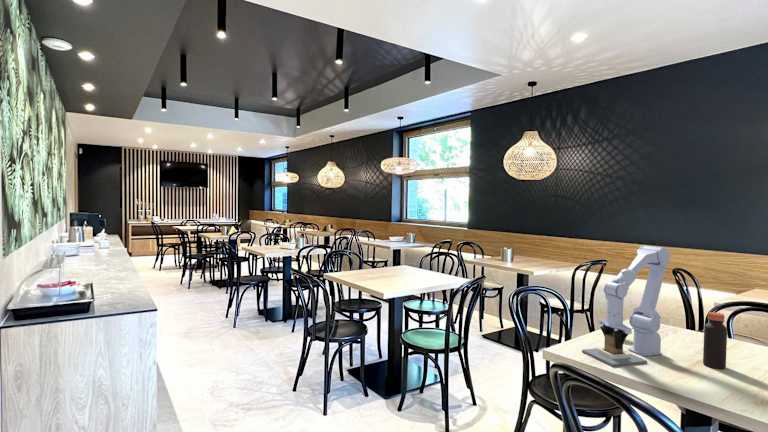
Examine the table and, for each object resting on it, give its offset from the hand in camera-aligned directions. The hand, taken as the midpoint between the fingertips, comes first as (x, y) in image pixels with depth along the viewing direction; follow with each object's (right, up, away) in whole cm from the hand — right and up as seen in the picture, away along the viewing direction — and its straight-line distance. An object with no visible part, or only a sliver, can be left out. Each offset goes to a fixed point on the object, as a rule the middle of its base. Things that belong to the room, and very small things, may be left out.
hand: (613, 346), depth 164 cm
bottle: (+34, -5, -7) cm, 35 cm away
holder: (0, -4, 0) cm, 4 cm away
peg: (0, -3, 0) cm, 3 cm away
